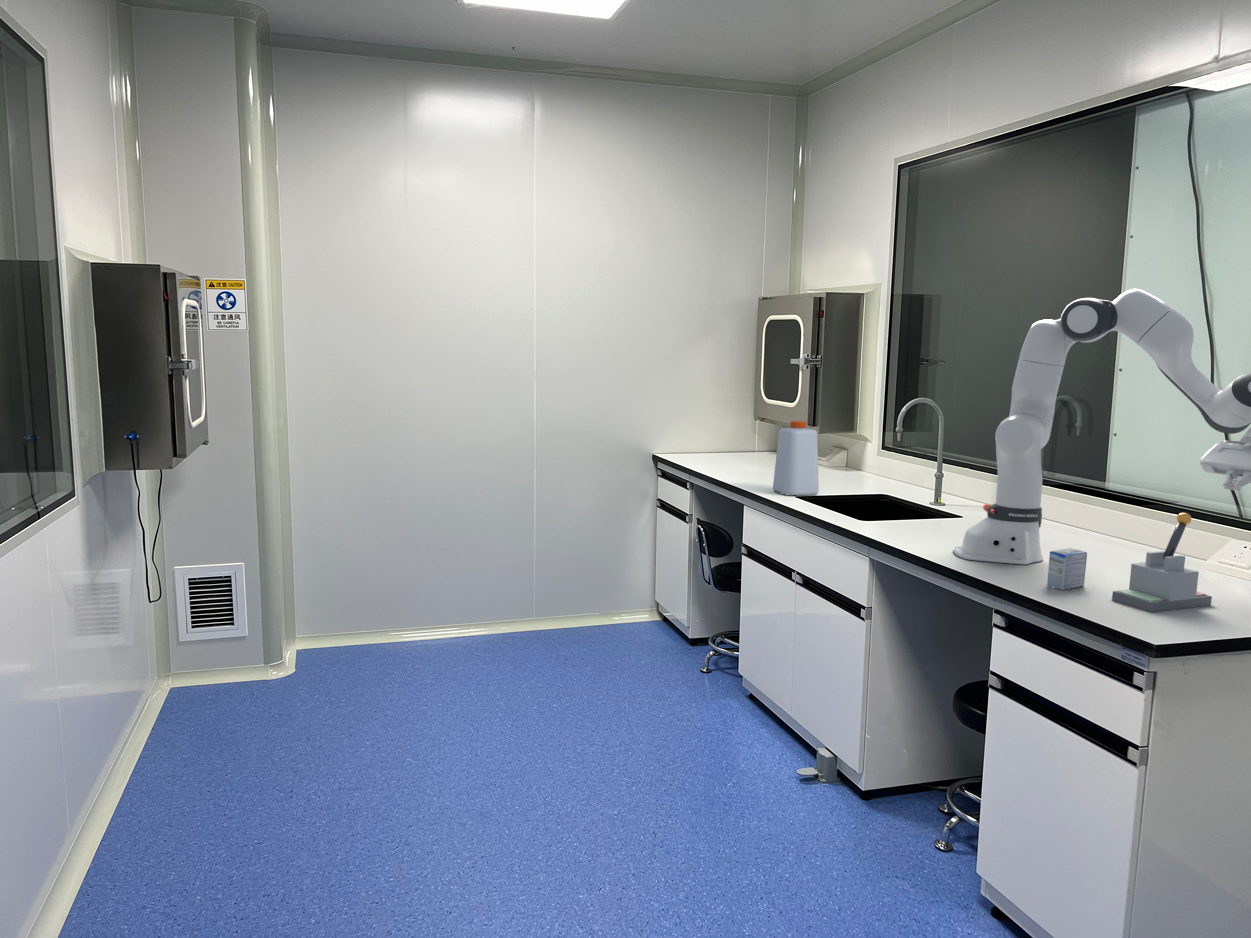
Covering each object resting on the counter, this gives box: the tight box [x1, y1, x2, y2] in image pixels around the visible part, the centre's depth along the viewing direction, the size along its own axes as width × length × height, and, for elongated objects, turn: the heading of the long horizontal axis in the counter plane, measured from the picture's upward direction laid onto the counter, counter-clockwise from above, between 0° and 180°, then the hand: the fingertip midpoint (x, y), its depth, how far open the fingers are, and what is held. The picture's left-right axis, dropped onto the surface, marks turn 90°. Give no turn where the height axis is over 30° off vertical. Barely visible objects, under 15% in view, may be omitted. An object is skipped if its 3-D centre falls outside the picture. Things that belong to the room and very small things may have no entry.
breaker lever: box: [1163, 512, 1192, 560], centre depth 196 cm, size 3×3×12 cm
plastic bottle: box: [772, 420, 820, 496], centre depth 341 cm, size 15×15×28 cm
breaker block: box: [1111, 550, 1213, 613], centre depth 196 cm, size 18×10×11 cm, turn 111°
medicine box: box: [1046, 547, 1088, 591], centre depth 209 cm, size 8×4×9 cm, turn 118°
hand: (1230, 488), depth 200 cm, fingers closed
